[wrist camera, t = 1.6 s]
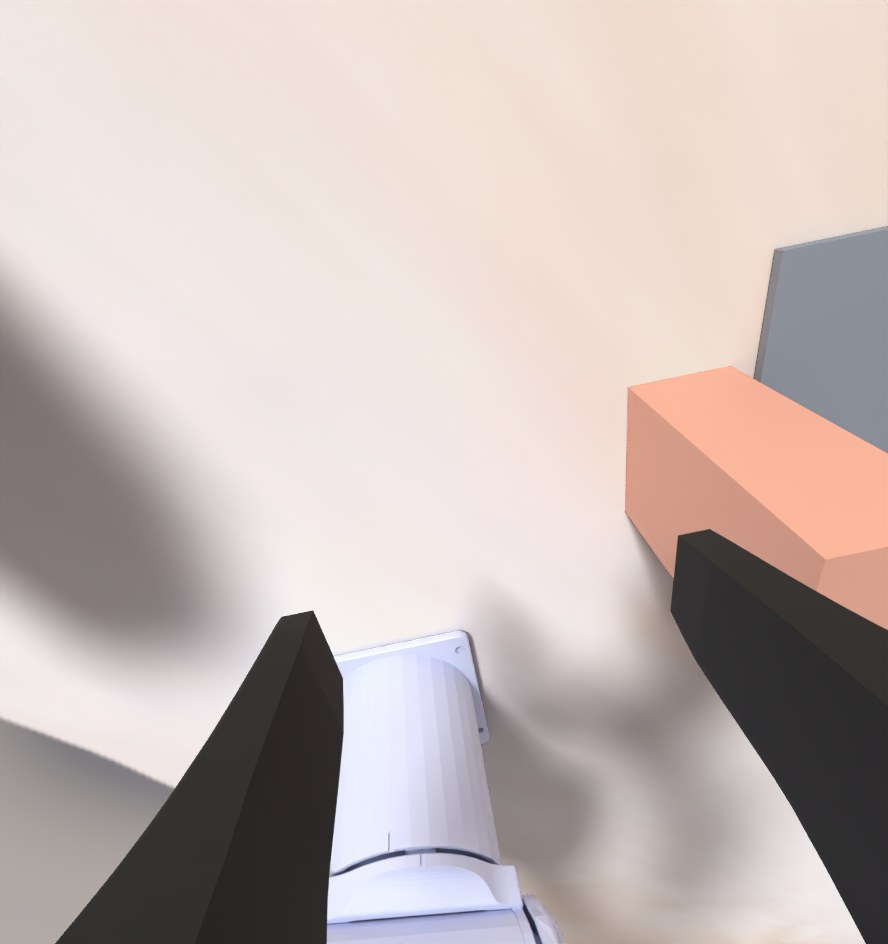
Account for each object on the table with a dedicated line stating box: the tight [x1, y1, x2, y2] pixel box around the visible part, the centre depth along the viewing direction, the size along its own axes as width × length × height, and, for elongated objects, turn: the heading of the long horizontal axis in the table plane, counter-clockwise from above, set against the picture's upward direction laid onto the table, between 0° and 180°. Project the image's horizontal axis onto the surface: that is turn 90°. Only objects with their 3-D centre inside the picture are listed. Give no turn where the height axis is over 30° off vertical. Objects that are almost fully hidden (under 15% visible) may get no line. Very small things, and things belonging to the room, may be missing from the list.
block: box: [625, 366, 888, 630], centre depth 17 cm, size 6×4×10 cm, turn 10°
